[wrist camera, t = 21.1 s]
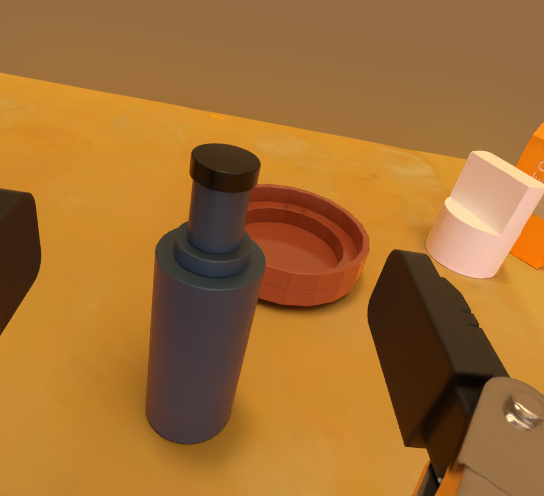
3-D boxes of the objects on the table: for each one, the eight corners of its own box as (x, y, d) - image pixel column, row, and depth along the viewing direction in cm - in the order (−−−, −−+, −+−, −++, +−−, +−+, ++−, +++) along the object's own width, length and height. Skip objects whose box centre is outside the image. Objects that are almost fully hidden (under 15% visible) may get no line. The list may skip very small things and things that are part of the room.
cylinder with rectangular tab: (512, 274, 54) (568, 187, 47) (458, 282, 50) (511, 188, 43) (462, 233, 60) (505, 151, 54) (411, 237, 57) (450, 149, 50)
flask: (126, 412, 29) (132, 151, 19) (182, 358, 34) (211, 123, 23) (198, 461, 27) (247, 203, 17) (246, 397, 32) (308, 162, 22)
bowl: (170, 260, 43) (173, 221, 41) (253, 202, 56) (260, 170, 53) (320, 339, 38) (335, 300, 36) (374, 256, 51) (388, 224, 49)
